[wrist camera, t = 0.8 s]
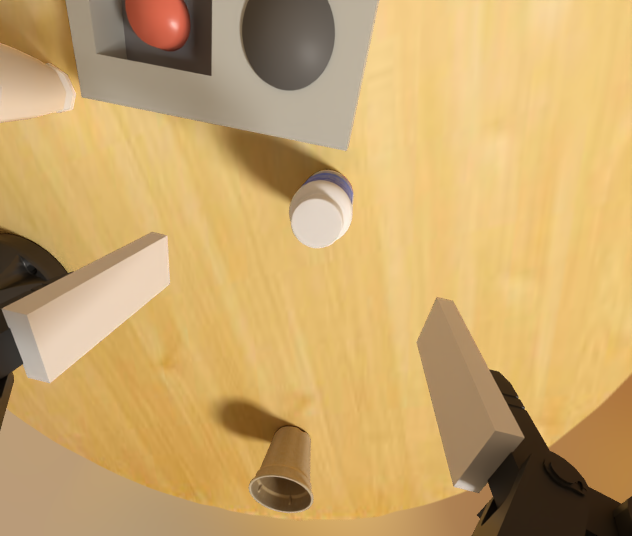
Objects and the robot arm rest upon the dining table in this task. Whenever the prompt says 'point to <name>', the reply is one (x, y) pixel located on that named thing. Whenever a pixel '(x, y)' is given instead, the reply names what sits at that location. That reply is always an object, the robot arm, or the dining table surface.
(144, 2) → the breaker button
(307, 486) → the flower pot
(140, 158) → the dining table surface
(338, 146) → the grey recessed tray
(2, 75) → the cup
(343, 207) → the pill bottle
